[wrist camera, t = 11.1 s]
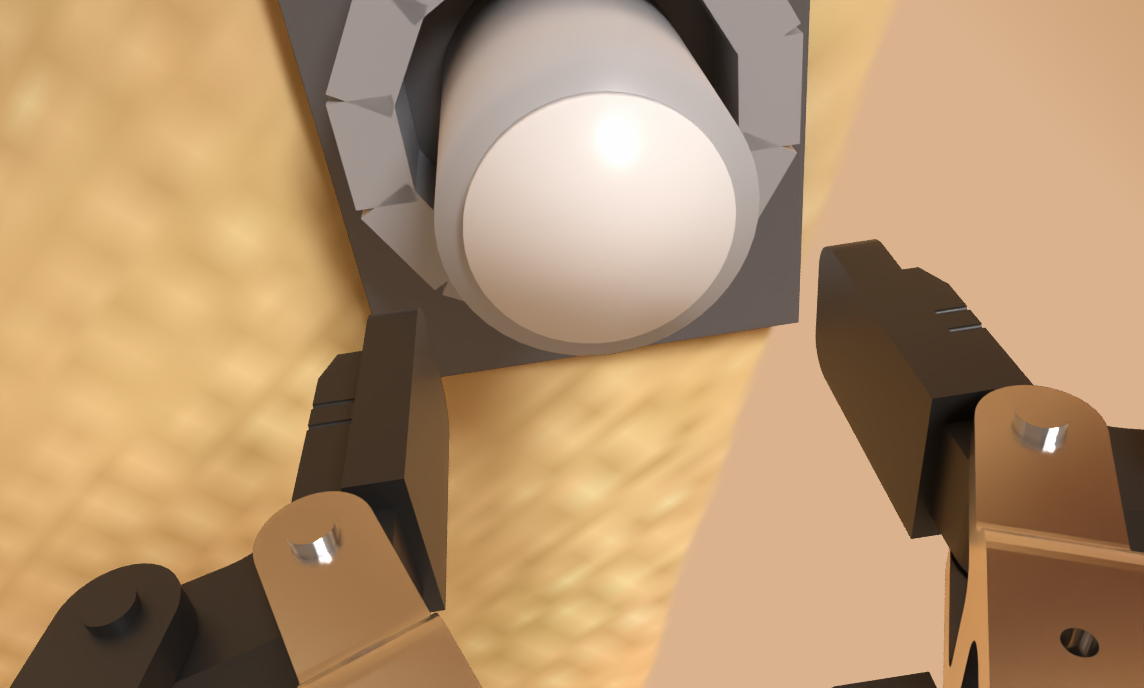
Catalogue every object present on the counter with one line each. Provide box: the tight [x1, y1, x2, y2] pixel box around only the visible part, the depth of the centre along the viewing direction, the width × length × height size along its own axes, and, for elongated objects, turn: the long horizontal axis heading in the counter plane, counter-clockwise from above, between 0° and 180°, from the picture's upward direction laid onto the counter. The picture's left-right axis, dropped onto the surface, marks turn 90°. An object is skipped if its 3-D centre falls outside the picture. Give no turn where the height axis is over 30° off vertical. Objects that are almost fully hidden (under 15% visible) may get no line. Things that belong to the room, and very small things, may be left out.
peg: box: [434, 0, 760, 356], centre depth 19 cm, size 6×6×7 cm
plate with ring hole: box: [278, 0, 810, 377], centre depth 21 cm, size 16×12×3 cm
